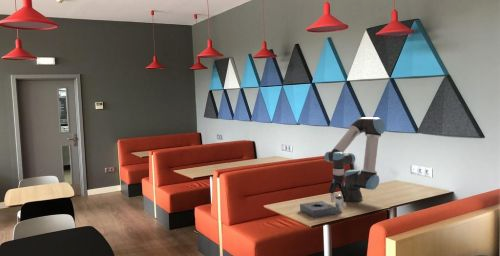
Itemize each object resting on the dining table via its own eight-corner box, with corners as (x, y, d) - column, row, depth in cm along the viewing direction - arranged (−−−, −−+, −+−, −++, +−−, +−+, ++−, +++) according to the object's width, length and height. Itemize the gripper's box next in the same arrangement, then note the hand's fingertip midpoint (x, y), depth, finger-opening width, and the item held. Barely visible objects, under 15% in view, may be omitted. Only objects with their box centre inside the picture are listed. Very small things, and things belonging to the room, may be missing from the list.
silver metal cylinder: (339, 210, 290) (339, 193, 289) (343, 212, 285) (343, 195, 284) (333, 211, 288) (333, 194, 287) (337, 213, 283) (337, 196, 282)
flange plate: (321, 207, 297) (321, 201, 297) (336, 214, 281) (335, 207, 280) (300, 211, 290) (300, 204, 290) (313, 217, 274) (313, 210, 274)
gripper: (323, 172, 294) (323, 200, 296) (344, 178, 271) (344, 209, 273) (332, 171, 297) (332, 199, 299) (354, 177, 274) (353, 208, 276)
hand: (338, 204), depth 286 cm, fingers open, 13 cm apart
